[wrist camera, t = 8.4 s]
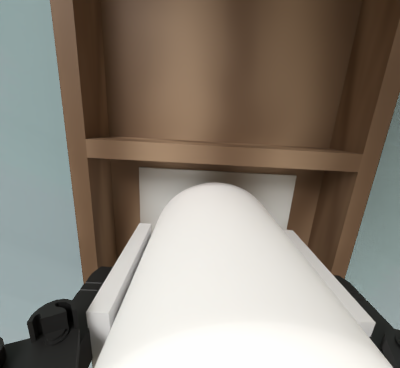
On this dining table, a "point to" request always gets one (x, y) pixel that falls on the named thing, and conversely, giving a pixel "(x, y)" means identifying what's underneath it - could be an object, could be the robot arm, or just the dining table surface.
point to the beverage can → (230, 295)
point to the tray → (226, 111)
